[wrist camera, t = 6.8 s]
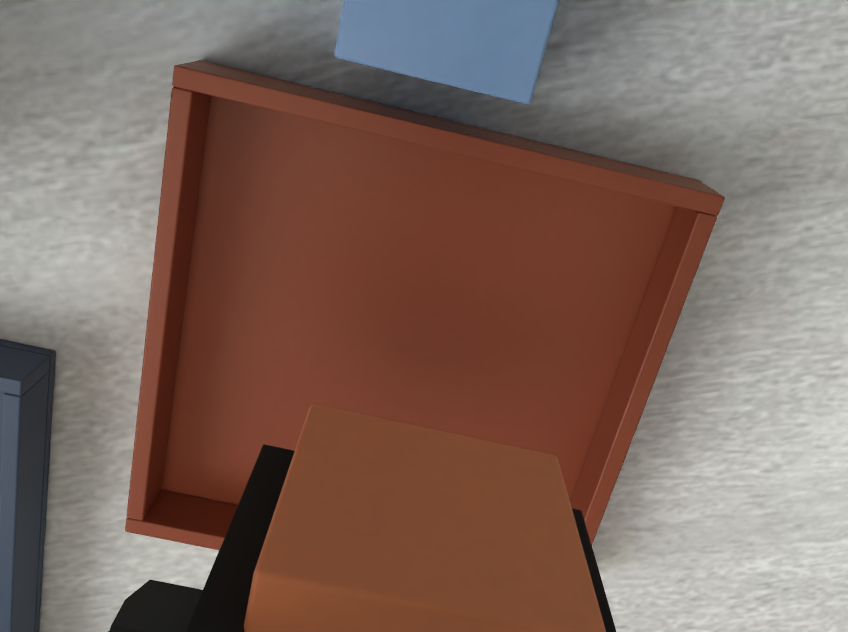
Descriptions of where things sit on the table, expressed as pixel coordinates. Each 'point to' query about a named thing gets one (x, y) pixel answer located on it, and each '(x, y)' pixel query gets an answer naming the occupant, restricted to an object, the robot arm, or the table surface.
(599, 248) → the clay tray
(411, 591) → the terracotta block
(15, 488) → the slate tray
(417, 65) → the blue block
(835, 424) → the table surface
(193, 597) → the robot arm
